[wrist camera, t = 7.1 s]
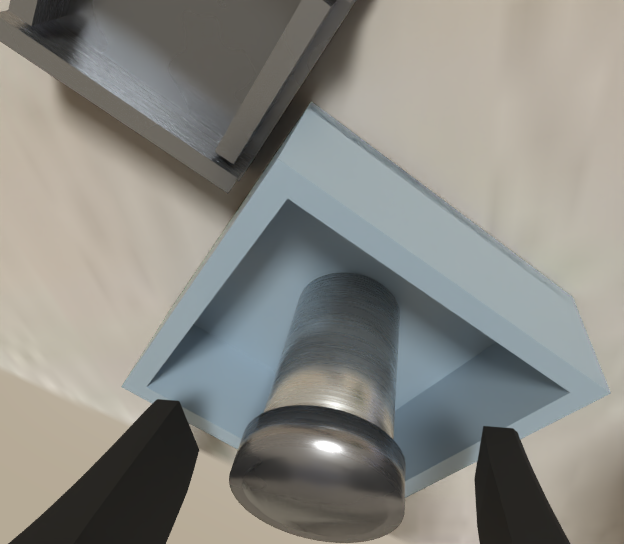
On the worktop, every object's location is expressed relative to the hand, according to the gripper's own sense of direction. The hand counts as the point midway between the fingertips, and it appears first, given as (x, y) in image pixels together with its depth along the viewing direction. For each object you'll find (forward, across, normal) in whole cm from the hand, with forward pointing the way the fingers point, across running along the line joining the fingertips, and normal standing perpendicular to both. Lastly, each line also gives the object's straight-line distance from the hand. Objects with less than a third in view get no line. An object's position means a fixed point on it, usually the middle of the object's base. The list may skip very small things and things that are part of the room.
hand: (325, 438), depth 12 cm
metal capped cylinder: (+4, 0, 0) cm, 5 cm away
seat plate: (+5, +3, -9) cm, 11 cm away
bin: (+5, 0, 0) cm, 5 cm away
